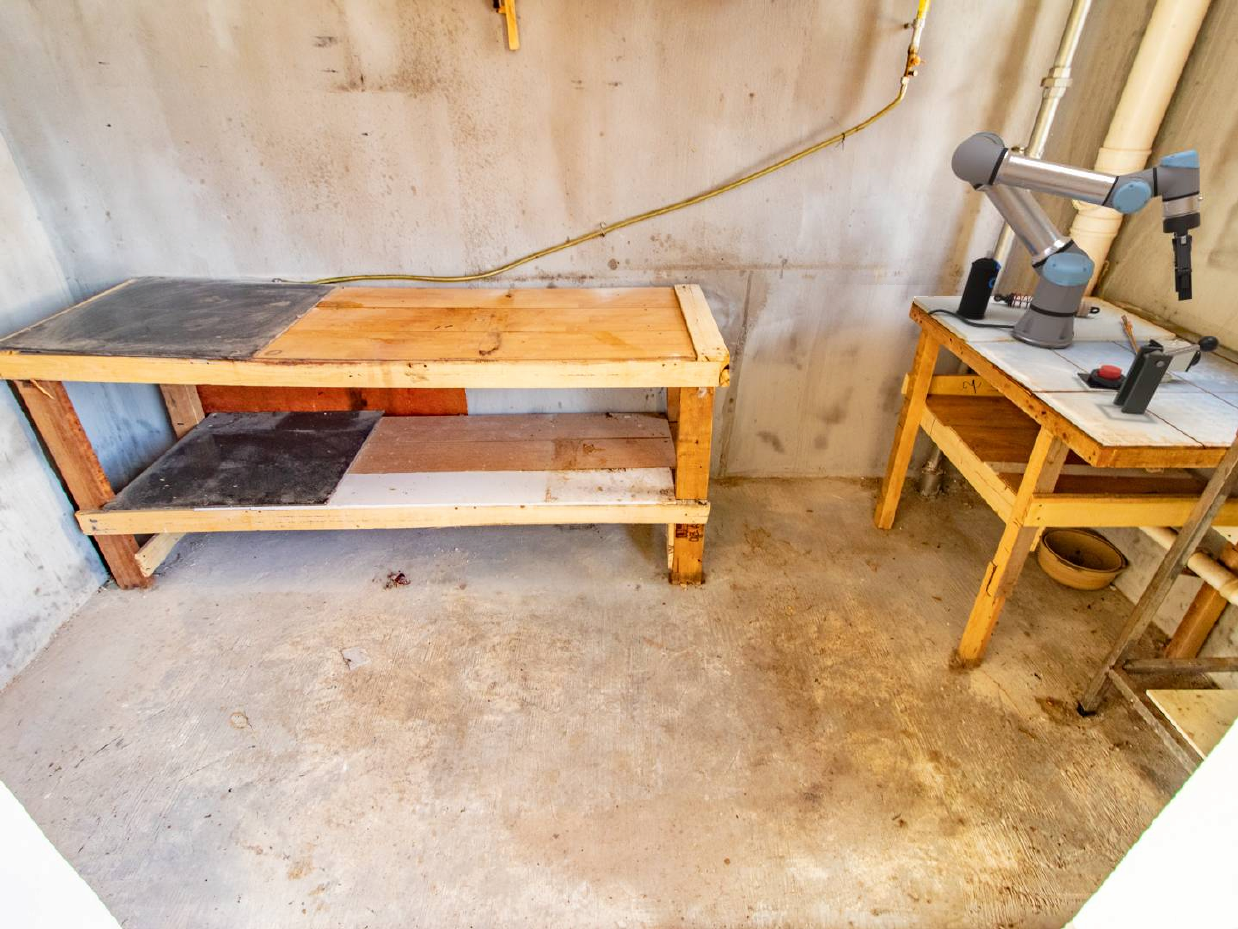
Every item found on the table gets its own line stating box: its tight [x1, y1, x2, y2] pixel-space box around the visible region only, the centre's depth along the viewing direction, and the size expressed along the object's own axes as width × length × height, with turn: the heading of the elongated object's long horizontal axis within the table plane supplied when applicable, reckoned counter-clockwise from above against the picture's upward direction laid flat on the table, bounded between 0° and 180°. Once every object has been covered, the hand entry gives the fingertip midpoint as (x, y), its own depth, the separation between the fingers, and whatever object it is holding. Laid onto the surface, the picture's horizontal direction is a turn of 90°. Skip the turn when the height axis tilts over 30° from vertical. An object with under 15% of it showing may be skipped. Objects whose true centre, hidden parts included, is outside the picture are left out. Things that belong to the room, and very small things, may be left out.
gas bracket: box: [1112, 345, 1174, 416], centre depth 149 cm, size 9×7×16 cm
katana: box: [1121, 315, 1140, 356], centre depth 189 cm, size 1×35×3 cm, turn 155°
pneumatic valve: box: [1143, 338, 1202, 383], centre depth 164 cm, size 6×12×12 cm, turn 82°
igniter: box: [1098, 364, 1123, 379], centre depth 162 cm, size 4×4×2 cm
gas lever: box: [1143, 335, 1220, 364], centre depth 143 cm, size 13×4×4 cm, turn 79°
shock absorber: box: [993, 292, 1101, 318], centre depth 209 cm, size 5×5×30 cm
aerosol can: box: [955, 249, 1002, 321], centre depth 201 cm, size 8×8×20 cm
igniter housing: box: [1076, 367, 1126, 392], centre depth 163 cm, size 10×8×4 cm
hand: (1183, 295), depth 177 cm, fingers open, 13 cm apart
